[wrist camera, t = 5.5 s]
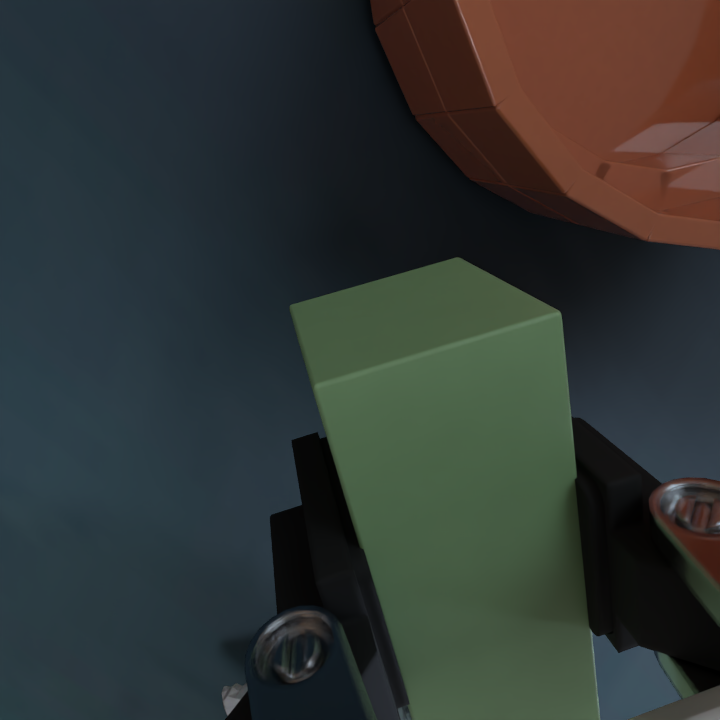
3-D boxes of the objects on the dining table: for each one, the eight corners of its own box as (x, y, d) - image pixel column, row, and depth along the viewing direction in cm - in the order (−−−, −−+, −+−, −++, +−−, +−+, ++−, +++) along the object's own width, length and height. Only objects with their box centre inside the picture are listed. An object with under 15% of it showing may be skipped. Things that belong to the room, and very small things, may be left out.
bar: (287, 304, 10) (311, 387, 7) (459, 255, 10) (562, 310, 7) (384, 625, 13) (432, 789, 10) (513, 581, 13) (602, 726, 10)
